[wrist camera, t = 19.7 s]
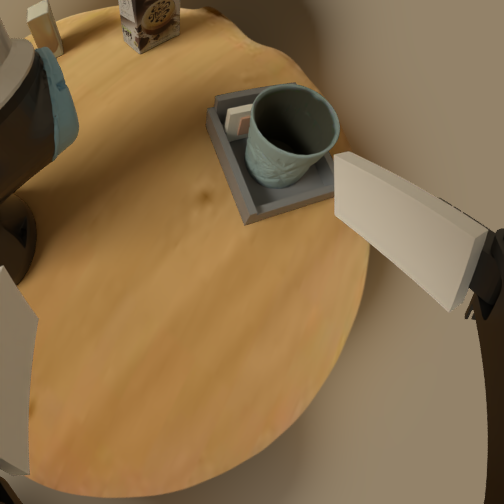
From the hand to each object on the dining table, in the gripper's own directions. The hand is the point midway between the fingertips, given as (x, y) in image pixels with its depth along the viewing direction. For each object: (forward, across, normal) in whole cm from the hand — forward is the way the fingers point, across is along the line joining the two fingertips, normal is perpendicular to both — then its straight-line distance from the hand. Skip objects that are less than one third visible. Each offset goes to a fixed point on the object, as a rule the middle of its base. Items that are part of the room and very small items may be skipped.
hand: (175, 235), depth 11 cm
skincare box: (+59, -14, +17) cm, 63 cm away
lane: (+31, +17, -11) cm, 37 cm away
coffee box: (+54, +6, +12) cm, 56 cm away
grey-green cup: (+30, +16, -11) cm, 36 cm away
